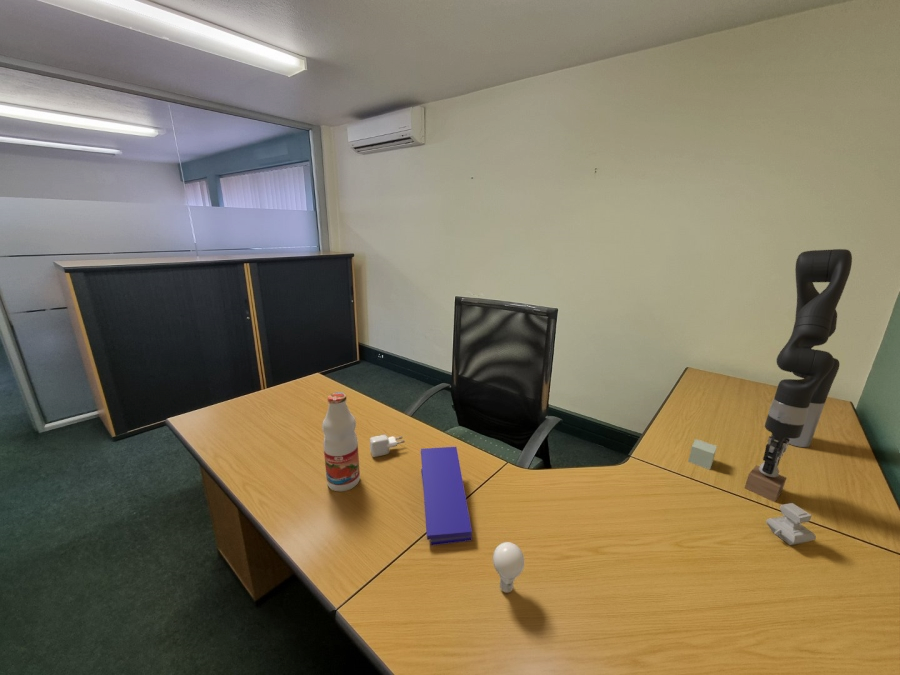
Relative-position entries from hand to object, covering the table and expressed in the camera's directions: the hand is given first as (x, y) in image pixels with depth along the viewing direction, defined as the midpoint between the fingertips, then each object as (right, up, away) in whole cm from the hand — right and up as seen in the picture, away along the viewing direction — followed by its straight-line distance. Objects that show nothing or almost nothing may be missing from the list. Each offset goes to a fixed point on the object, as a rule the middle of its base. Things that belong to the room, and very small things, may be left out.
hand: (769, 469), depth 104 cm
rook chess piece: (0, -1, +1) cm, 2 cm away
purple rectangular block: (-95, -8, -5) cm, 95 cm away
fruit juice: (-125, -5, +3) cm, 125 cm away
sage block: (-10, -3, +15) cm, 18 cm away
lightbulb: (-81, -15, -28) cm, 87 cm away
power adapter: (-114, -1, +17) cm, 115 cm away
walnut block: (0, -7, +2) cm, 7 cm away
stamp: (-9, -12, -14) cm, 21 cm away
